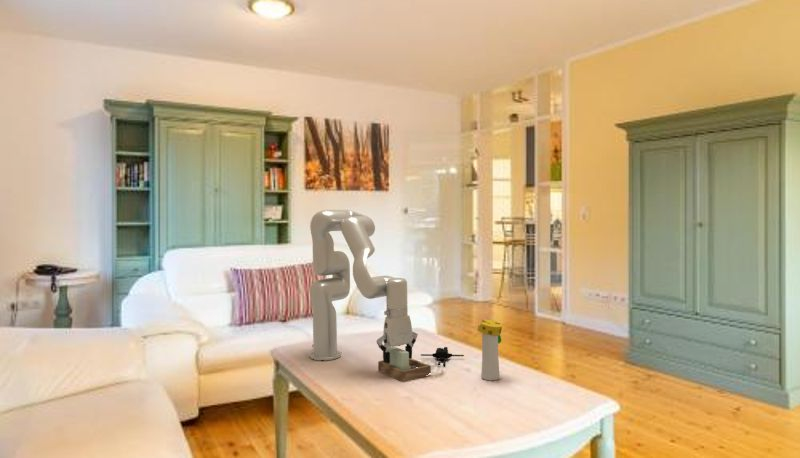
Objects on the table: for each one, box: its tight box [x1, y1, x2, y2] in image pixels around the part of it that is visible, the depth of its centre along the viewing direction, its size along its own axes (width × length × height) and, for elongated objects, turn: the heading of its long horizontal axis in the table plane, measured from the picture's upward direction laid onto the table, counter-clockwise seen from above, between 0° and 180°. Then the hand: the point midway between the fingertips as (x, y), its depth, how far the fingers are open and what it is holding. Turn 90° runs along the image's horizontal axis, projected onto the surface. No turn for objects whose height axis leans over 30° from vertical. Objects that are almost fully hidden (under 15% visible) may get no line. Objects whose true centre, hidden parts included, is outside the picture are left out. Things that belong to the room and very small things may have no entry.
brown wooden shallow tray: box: [377, 357, 432, 383], centre depth 189 cm, size 16×12×4 cm
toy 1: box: [420, 346, 465, 368], centre depth 203 cm, size 17×5×15 cm
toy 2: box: [477, 318, 503, 381], centre depth 182 cm, size 8×9×20 cm
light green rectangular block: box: [387, 346, 409, 371], centre depth 188 cm, size 10×3×8 cm, turn 35°
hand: (397, 360), depth 188 cm, fingers open, 9 cm apart
